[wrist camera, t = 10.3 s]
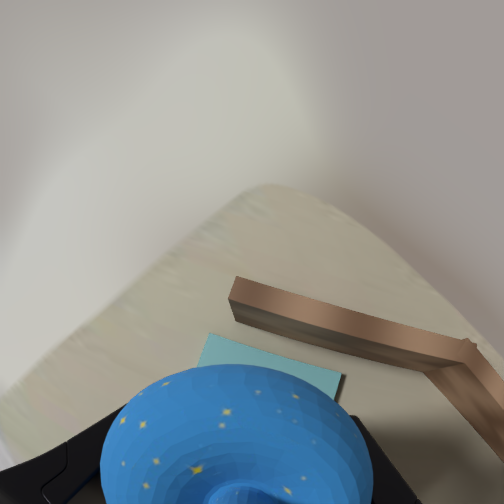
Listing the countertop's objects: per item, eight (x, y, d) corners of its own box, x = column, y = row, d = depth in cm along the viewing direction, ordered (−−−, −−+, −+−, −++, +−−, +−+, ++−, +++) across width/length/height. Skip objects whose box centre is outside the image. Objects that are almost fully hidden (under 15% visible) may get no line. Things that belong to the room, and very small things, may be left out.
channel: (513, 517, 10) (548, 526, 5) (215, 620, 9) (206, 655, 4) (475, 254, 21) (510, 224, 16) (147, 317, 19) (115, 294, 15)
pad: (340, 373, 18) (341, 373, 17) (296, 495, 14) (297, 497, 14) (210, 333, 19) (209, 332, 18) (166, 453, 16) (164, 454, 15)
